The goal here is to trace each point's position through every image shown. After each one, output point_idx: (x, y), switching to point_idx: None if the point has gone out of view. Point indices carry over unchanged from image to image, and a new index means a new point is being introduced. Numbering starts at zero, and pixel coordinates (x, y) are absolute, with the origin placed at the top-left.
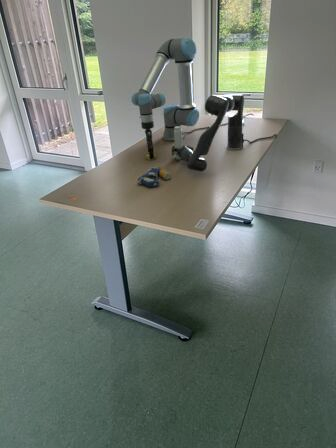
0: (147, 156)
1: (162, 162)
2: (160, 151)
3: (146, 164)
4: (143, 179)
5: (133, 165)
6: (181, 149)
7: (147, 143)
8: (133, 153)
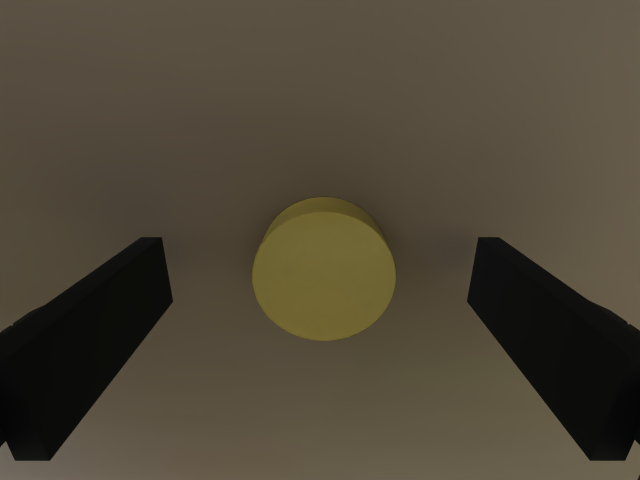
0: (365, 327)
1: (589, 102)
2: (18, 61)
3: None
4: None
5: (478, 450)
6: None
7: (56, 435)
8: (73, 433)
